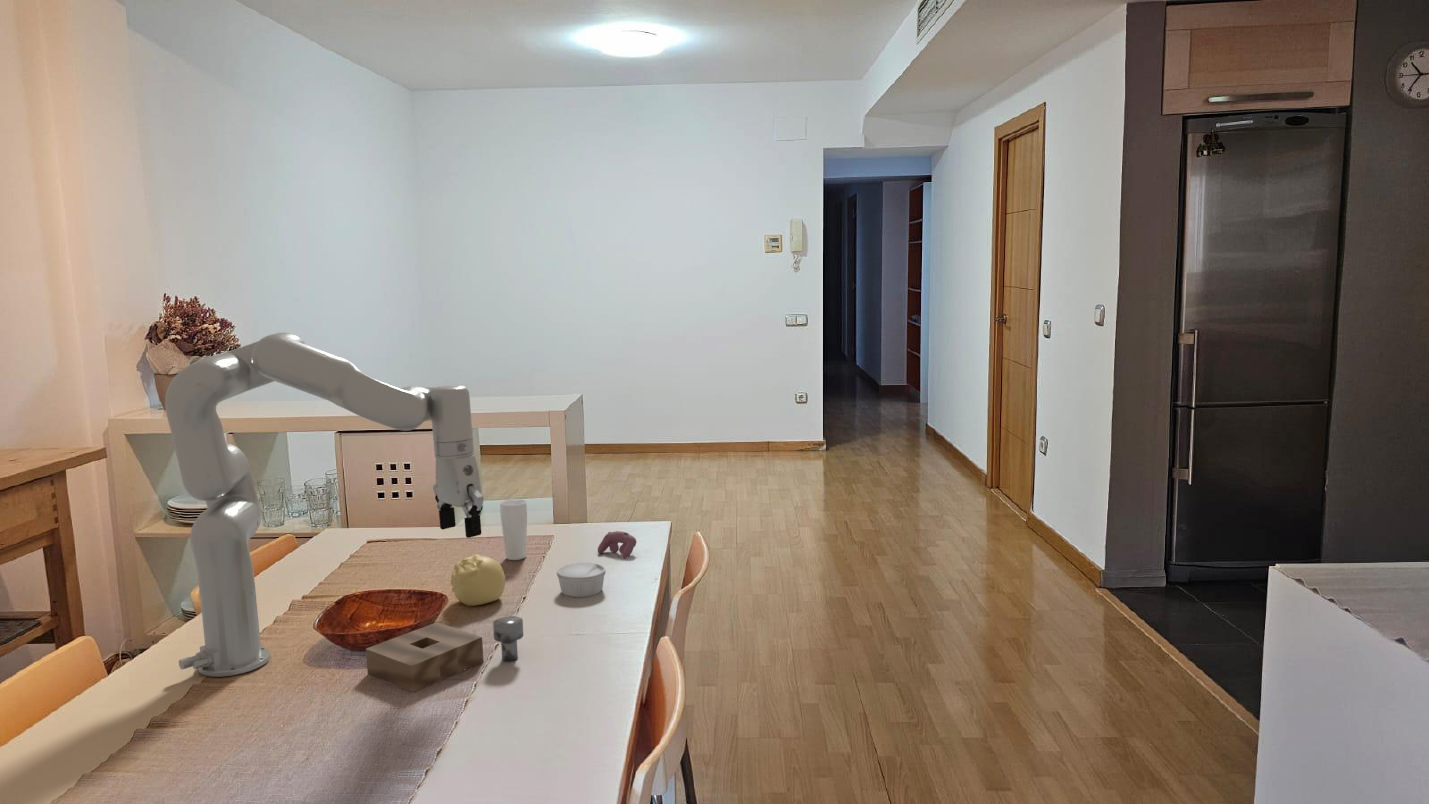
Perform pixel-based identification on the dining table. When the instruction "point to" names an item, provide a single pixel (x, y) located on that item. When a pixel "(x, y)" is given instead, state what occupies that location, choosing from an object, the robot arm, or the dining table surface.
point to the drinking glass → (514, 528)
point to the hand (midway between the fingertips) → (460, 531)
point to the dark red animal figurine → (614, 539)
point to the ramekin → (581, 579)
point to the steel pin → (508, 636)
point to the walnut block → (424, 656)
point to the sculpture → (477, 580)
